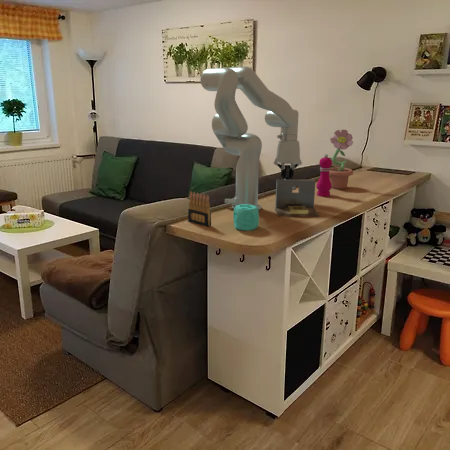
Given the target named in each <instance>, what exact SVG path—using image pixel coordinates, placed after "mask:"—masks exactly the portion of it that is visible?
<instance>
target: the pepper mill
mask: <svg viewBox="0 0 450 450" xmlns="http://www.w3.org/2000/svg"><path fill="white" fill-rule="evenodd" d="M330 158H331V157H329V155H328V154H327V153H325V154H324V157H321V158H320V159H319V162H318V165H319V166H320V168H319V171H320V176H319V178H318V181H317V182H316V185H315V188H316V189H317V191H316V192H317V193H316V196H318V197H330V196H331V192H330V191H331V189H333V188H332V184H331V181H330V175H329V172H330V169H331V168H332V165H333V162H332V159H330Z"/></svg>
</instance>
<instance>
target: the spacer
mask: <svg viewBox="0 0 450 450" xmlns="http://www.w3.org/2000/svg"><path fill="white" fill-rule="evenodd" d="M288 211H289V212H290V213H291V214H308V209H307V208H306V207H305V206H288Z"/></svg>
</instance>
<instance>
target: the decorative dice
mask: <svg viewBox="0 0 450 450" xmlns="http://www.w3.org/2000/svg"><path fill="white" fill-rule="evenodd" d="M259 212H260V211H259V210H258V208H257V207H256V206H255V205H250V204H241V205H237V206H236V207H235V208H234V209H233V213H232V214H233V225H234V228H235V229H236V230H238V231H243V232H247V231H248V232H249V231H254V230H256V229H257V228H258V227H259V223H260V213H259Z"/></svg>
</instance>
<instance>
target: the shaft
mask: <svg viewBox="0 0 450 450" xmlns="http://www.w3.org/2000/svg"><path fill="white" fill-rule="evenodd" d="M290 169H291V164H284V170H285V179H283V180H291V179H290ZM296 190H297V186H293V187H292V191H296Z"/></svg>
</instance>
